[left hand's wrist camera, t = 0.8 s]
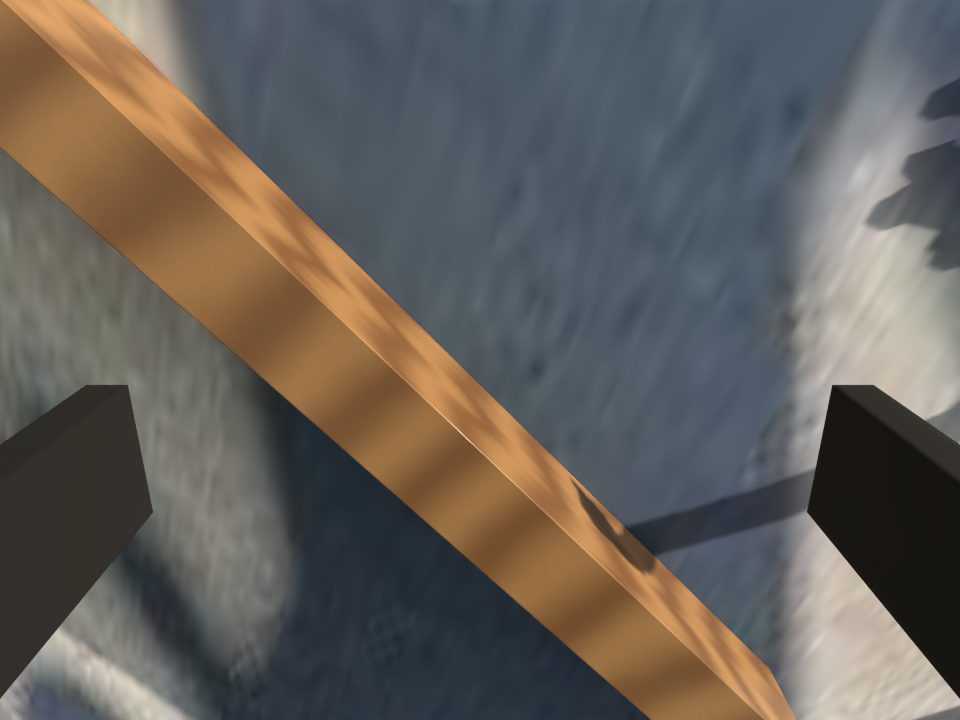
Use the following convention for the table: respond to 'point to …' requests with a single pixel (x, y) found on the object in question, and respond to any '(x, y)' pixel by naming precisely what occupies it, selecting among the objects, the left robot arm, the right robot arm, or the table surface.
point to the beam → (353, 359)
